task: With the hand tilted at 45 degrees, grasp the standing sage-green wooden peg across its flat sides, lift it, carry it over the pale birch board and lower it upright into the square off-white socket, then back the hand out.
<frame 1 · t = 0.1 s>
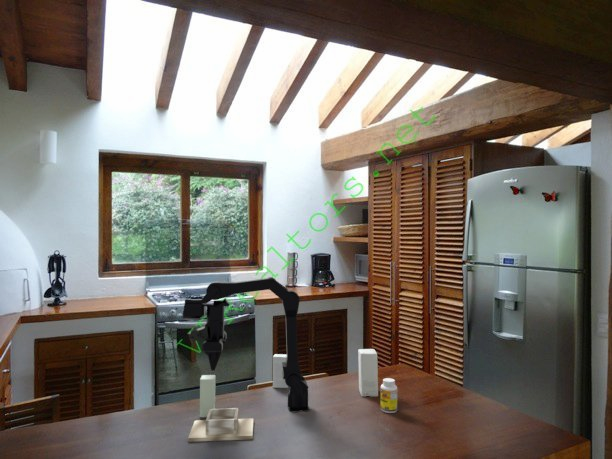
hand: (214, 366, 143), 15 cm above the table, tool pointing down, fingers open, 9 cm apart
holder: (222, 431, 127), on the table
skincare box: (367, 393, 160), on the table
peg: (207, 414, 140), on the table
supplement bottle: (388, 411, 144), on the table
skincare box 2: (280, 386, 167), on the table
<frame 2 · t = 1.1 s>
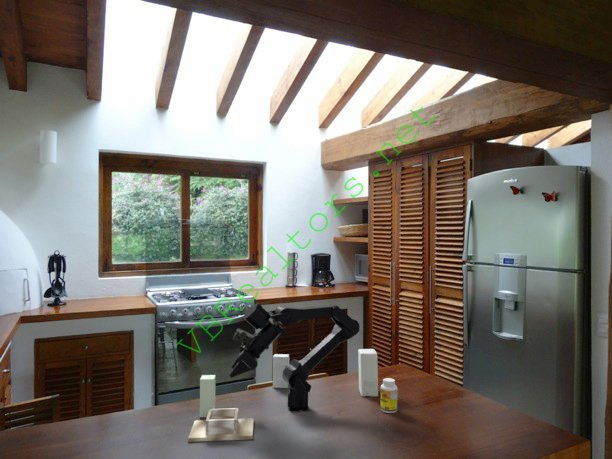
hand: (231, 372, 141), 13 cm above the table, tool tilted 45°, fingers open, 9 cm apart
nothing on the table moved.
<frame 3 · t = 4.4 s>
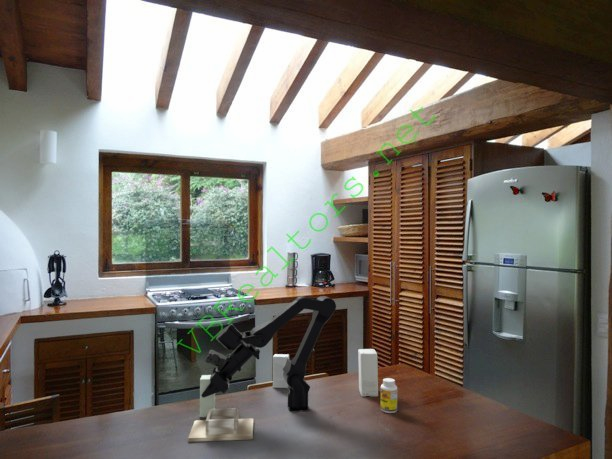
hand: (203, 393, 140), 7 cm above the table, tool tilted 45°, fingers closed on peg, 4 cm apart
peg: (207, 414, 140), on the table, touching gripper
everything else where it was.
when the fingers open (9 cm above the table, at t = 11.1 s): peg drops 1 cm, resting on holder.
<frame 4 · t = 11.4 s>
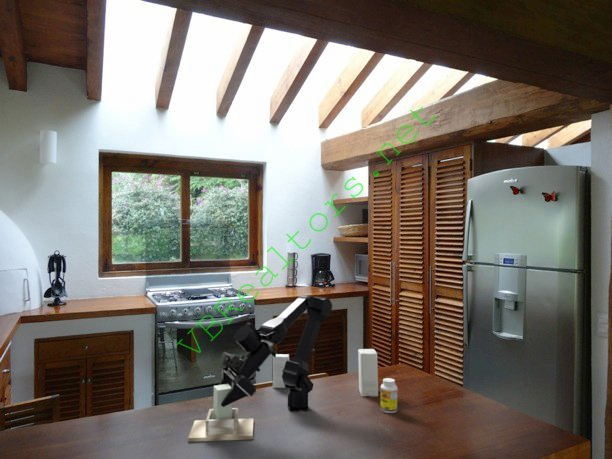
hand: (218, 401, 127), 9 cm above the table, tool tilted 45°, fingers open, 8 cm apart
peg: (222, 427, 127), point 1 cm above the table, touching holder
everything else where it was.
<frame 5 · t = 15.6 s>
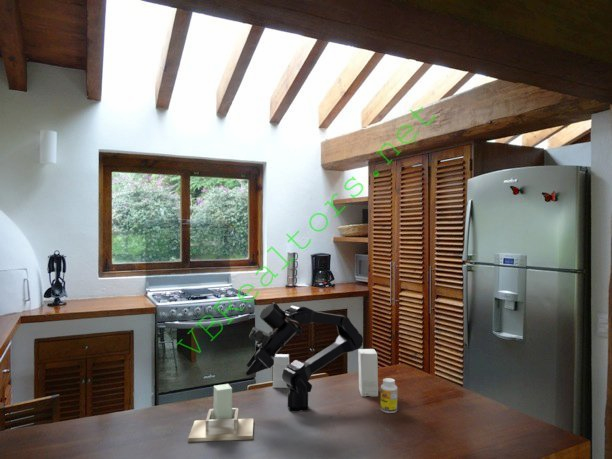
hand: (246, 370, 142), 14 cm above the table, tool tilted 45°, fingers open, 9 cm apart
nothing on the table moved.
at the end: peg 0.1 cm off-centre on the holder, point 1.0 cm above the holder's base; peg tilted 0°; the gripper is holding nothing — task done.
